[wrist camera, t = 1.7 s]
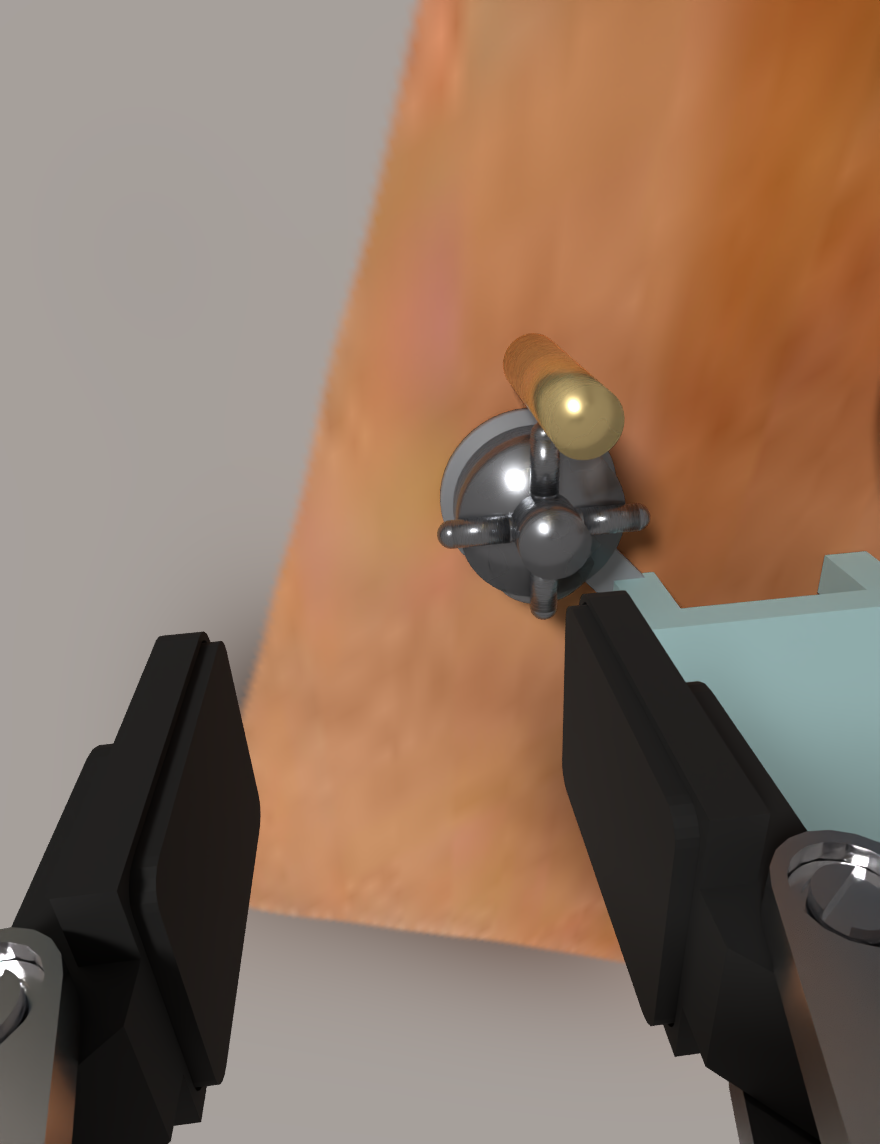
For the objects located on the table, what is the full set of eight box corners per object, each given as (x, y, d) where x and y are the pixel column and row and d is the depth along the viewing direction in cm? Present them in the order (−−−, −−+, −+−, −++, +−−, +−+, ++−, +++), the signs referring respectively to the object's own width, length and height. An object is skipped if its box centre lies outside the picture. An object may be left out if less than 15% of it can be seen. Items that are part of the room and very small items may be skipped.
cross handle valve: (420, 342, 26) (442, 398, 20) (640, 325, 27) (731, 374, 20) (437, 598, 31) (459, 710, 24) (624, 580, 31) (693, 686, 25)
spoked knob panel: (434, 415, 28) (450, 461, 24) (918, 375, 29) (1018, 412, 25) (460, 841, 38) (474, 928, 34) (818, 798, 39) (877, 878, 35)
